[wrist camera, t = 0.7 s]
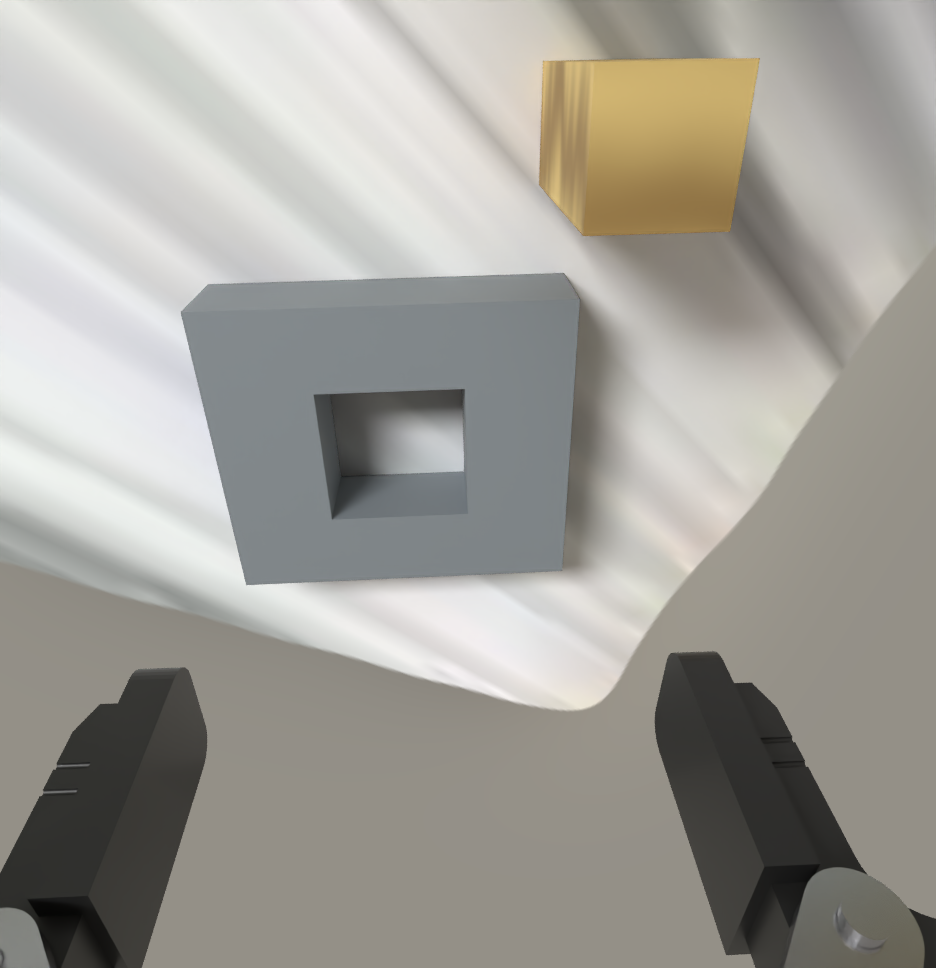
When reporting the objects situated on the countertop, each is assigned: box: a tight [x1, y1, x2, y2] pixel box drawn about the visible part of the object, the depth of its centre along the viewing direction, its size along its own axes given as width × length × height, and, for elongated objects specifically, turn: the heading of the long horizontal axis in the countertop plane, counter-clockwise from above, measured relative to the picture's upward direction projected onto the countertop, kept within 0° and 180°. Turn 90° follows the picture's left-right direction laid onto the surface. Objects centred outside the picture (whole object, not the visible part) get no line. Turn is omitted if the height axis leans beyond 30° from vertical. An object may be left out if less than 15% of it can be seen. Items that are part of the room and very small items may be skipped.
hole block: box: [181, 273, 580, 585], centre depth 33 cm, size 14×16×4 cm
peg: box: [539, 58, 760, 236], centre depth 24 cm, size 4×4×10 cm
